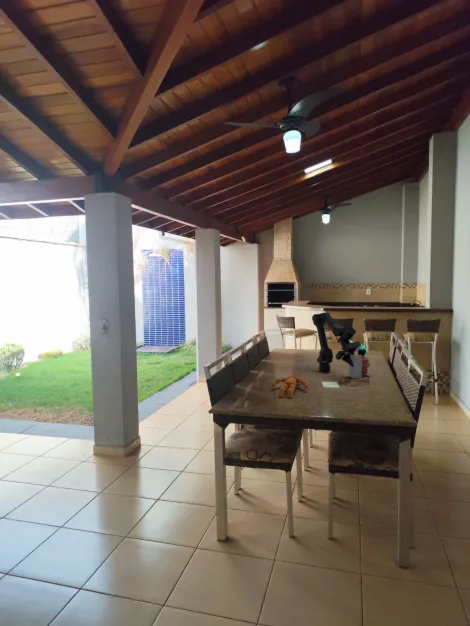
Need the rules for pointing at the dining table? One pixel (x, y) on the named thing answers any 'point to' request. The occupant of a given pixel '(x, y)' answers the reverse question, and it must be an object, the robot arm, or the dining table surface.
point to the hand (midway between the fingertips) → (356, 366)
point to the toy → (289, 386)
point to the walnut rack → (355, 381)
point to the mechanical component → (365, 365)
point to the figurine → (359, 348)
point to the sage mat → (330, 384)
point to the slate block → (356, 366)
